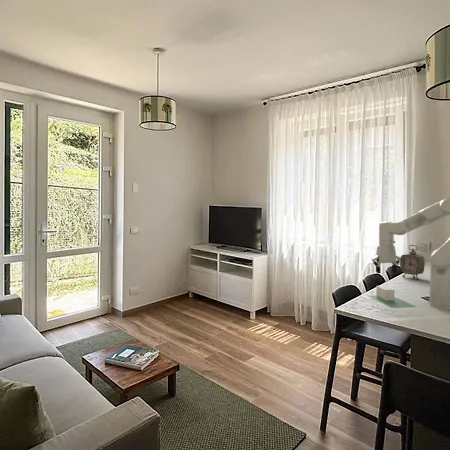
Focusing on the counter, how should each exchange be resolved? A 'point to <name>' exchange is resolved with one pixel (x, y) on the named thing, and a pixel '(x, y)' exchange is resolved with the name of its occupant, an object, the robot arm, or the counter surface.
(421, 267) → the tabletop clock
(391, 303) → the header board
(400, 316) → the counter surface
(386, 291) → the block
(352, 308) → the counter surface
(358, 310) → the counter surface
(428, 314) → the counter surface
